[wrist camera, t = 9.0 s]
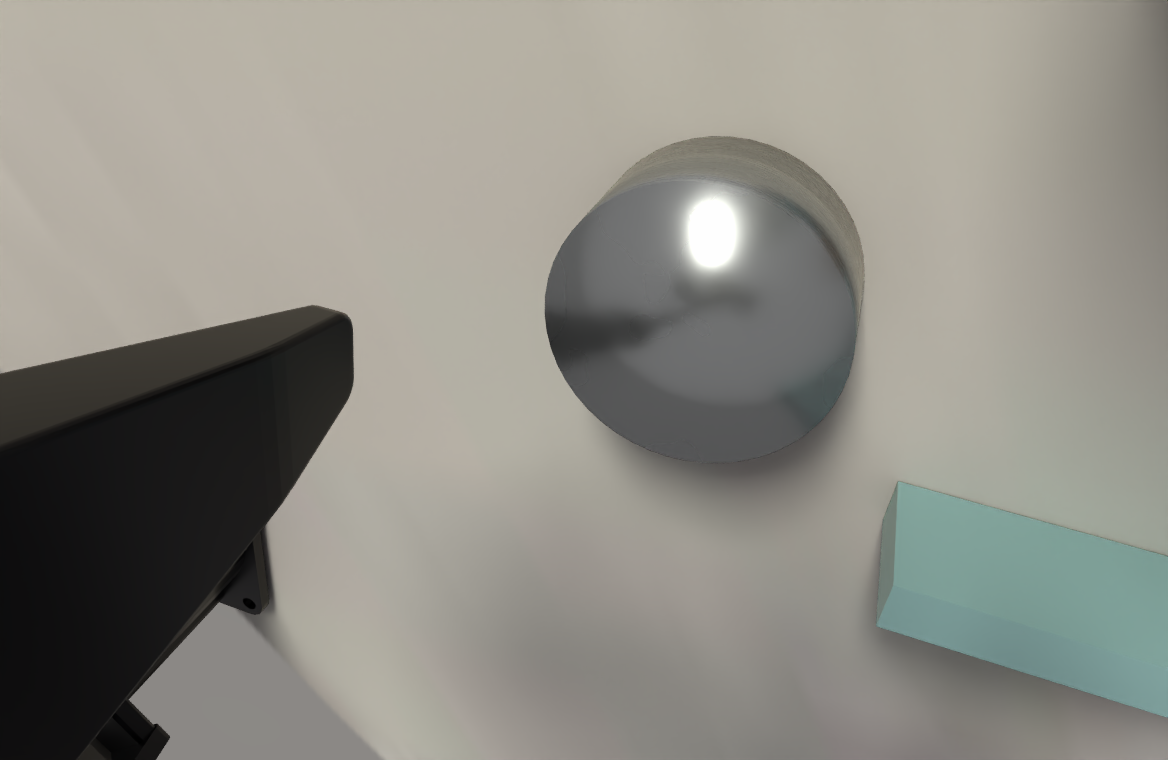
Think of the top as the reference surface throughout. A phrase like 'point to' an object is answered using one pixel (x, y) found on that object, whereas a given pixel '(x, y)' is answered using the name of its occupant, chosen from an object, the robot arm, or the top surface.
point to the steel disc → (709, 301)
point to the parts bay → (1026, 596)
